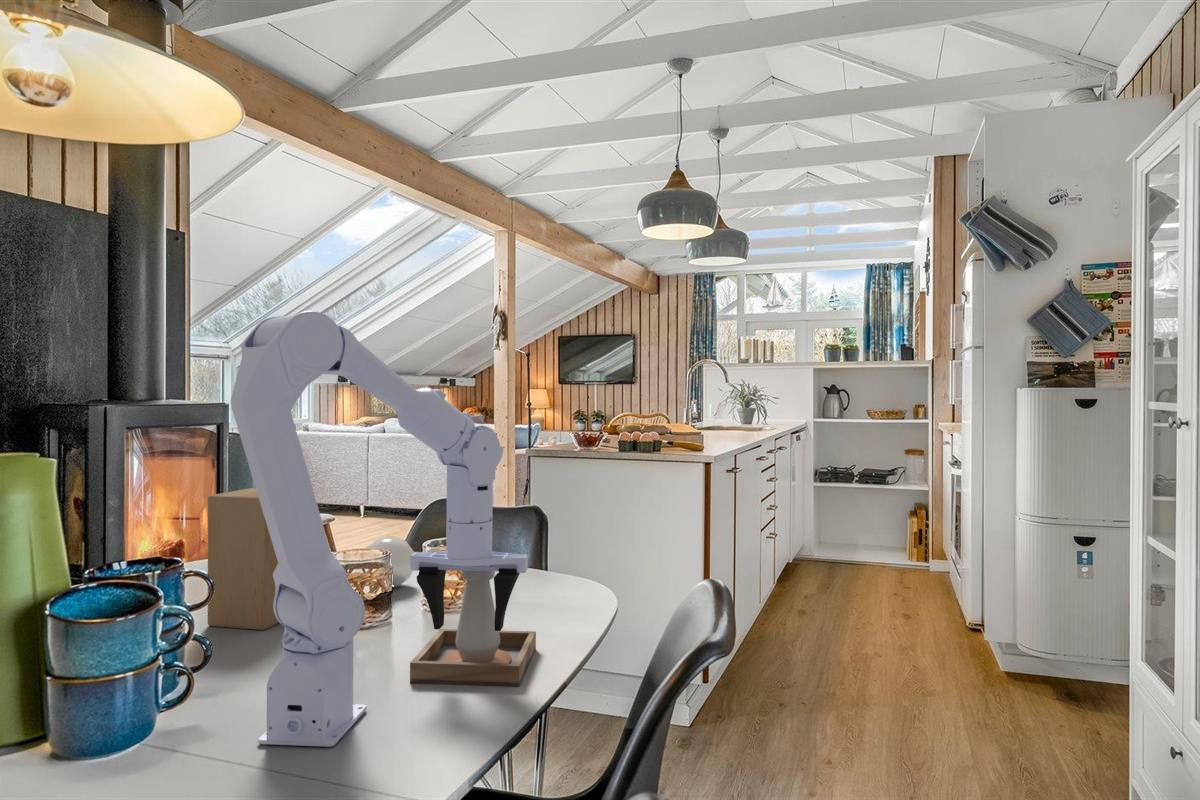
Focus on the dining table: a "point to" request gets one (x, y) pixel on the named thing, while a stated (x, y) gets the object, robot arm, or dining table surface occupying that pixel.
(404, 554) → the white rounded ovoid
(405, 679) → the dining table surface
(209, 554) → the wooden block
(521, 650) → the square wooden serving tray
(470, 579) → the salt shaker
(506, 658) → the coaster
